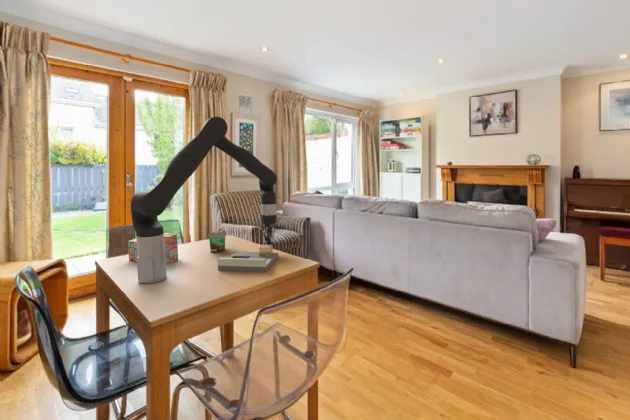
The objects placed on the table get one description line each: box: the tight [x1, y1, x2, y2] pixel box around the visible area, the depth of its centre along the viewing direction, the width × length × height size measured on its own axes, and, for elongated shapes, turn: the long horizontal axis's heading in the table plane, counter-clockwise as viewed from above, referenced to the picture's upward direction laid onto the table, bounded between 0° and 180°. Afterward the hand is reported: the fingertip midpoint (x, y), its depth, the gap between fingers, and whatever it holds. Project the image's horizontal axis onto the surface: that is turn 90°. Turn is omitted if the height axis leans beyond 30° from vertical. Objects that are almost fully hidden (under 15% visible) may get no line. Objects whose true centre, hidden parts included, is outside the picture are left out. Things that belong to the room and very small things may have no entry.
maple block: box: [258, 244, 274, 256], centre depth 151 cm, size 5×5×4 cm
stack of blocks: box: [126, 232, 179, 264], centre depth 150 cm, size 21×6×12 cm, turn 78°
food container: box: [208, 228, 228, 254], centre depth 166 cm, size 12×6×10 cm, turn 171°
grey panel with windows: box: [217, 251, 279, 273], centre depth 144 cm, size 22×20×5 cm
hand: (269, 249), depth 158 cm, fingers closed
